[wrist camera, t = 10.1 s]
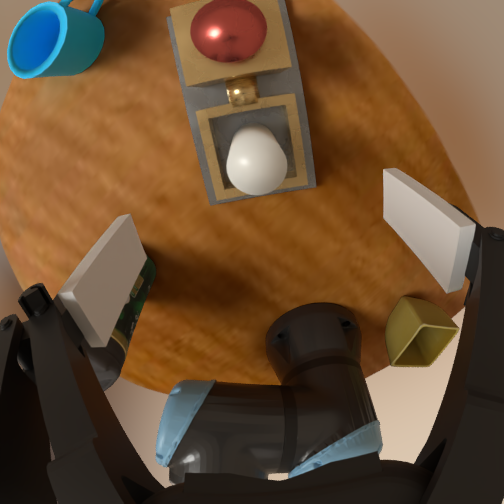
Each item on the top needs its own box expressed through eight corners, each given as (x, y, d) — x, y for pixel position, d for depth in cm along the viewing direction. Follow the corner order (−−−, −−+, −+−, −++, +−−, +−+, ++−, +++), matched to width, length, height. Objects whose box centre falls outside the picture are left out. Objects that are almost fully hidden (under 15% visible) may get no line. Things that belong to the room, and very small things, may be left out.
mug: (79, 87, 26) (38, 91, 19) (39, 60, 23) (-3, 62, 16) (139, 2, 21) (110, -19, 14) (93, -20, 18) (58, -38, 11)
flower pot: (372, 325, 45) (389, 367, 37) (397, 283, 41) (422, 324, 33) (410, 329, 46) (429, 367, 39) (435, 291, 42) (461, 328, 34)
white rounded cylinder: (277, 159, 30) (291, 189, 22) (236, 166, 31) (233, 199, 22) (270, 119, 28) (282, 132, 20) (228, 127, 29) (220, 143, 20)
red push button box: (314, 184, 33) (342, 226, 24) (211, 202, 34) (197, 251, 24) (282, -3, 22) (299, -42, 12) (168, 19, 23) (133, -9, 13)
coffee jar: (134, 304, 42) (95, 410, 26) (91, 274, 39) (34, 373, 23) (168, 264, 38) (128, 381, 22) (119, 229, 35) (49, 333, 19)
